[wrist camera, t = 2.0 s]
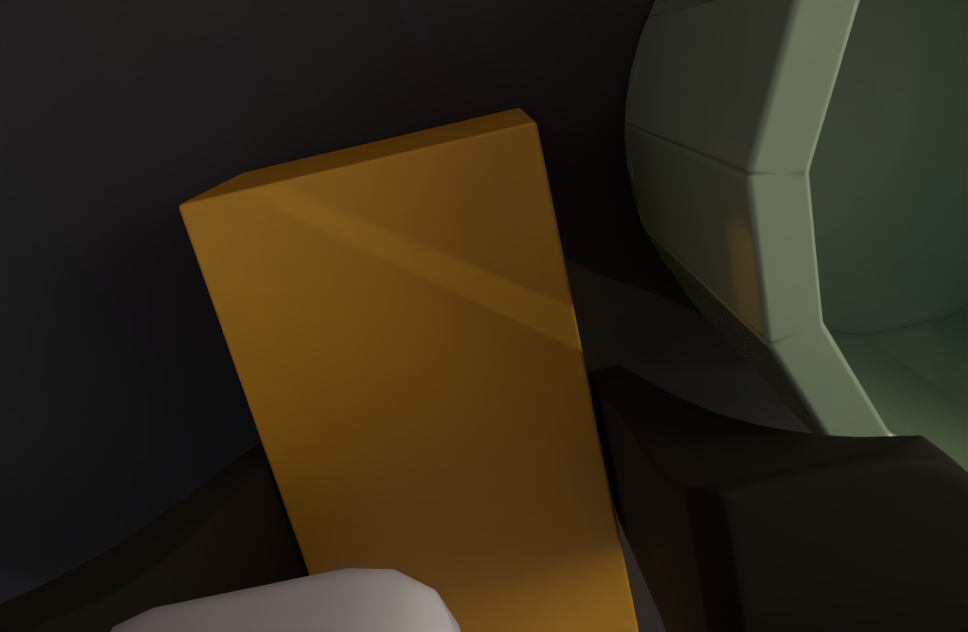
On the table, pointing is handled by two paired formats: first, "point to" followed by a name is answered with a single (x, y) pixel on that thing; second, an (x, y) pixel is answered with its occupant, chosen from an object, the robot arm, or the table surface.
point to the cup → (817, 198)
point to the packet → (423, 370)
